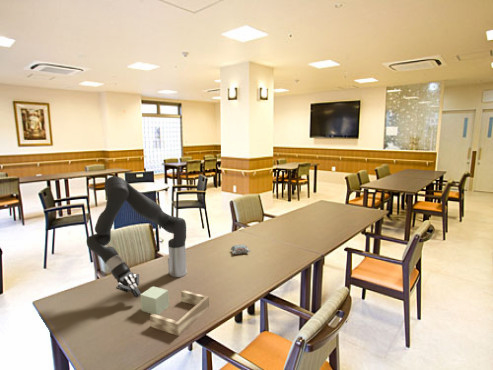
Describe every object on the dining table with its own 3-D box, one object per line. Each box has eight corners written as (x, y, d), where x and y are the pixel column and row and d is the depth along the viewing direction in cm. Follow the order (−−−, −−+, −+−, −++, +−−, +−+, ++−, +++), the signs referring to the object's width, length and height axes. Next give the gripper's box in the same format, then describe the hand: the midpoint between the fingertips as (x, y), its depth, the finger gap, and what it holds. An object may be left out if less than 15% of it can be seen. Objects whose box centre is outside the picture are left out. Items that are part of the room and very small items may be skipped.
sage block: (141, 310, 133) (140, 294, 131) (154, 301, 140) (152, 286, 138) (157, 315, 129) (155, 298, 128) (169, 306, 136) (168, 290, 135)
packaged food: (250, 254, 194) (250, 247, 193) (232, 256, 191) (232, 249, 191) (247, 249, 202) (247, 243, 202) (230, 251, 200) (230, 244, 199)
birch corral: (150, 326, 121) (149, 315, 120) (183, 299, 141) (183, 290, 140) (179, 336, 115) (178, 324, 114) (209, 306, 135) (208, 296, 134)
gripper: (109, 268, 134) (131, 298, 130) (132, 257, 145) (152, 285, 142) (102, 276, 137) (123, 307, 133) (125, 265, 148) (145, 293, 145)
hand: (138, 295), depth 138 cm, fingers closed
